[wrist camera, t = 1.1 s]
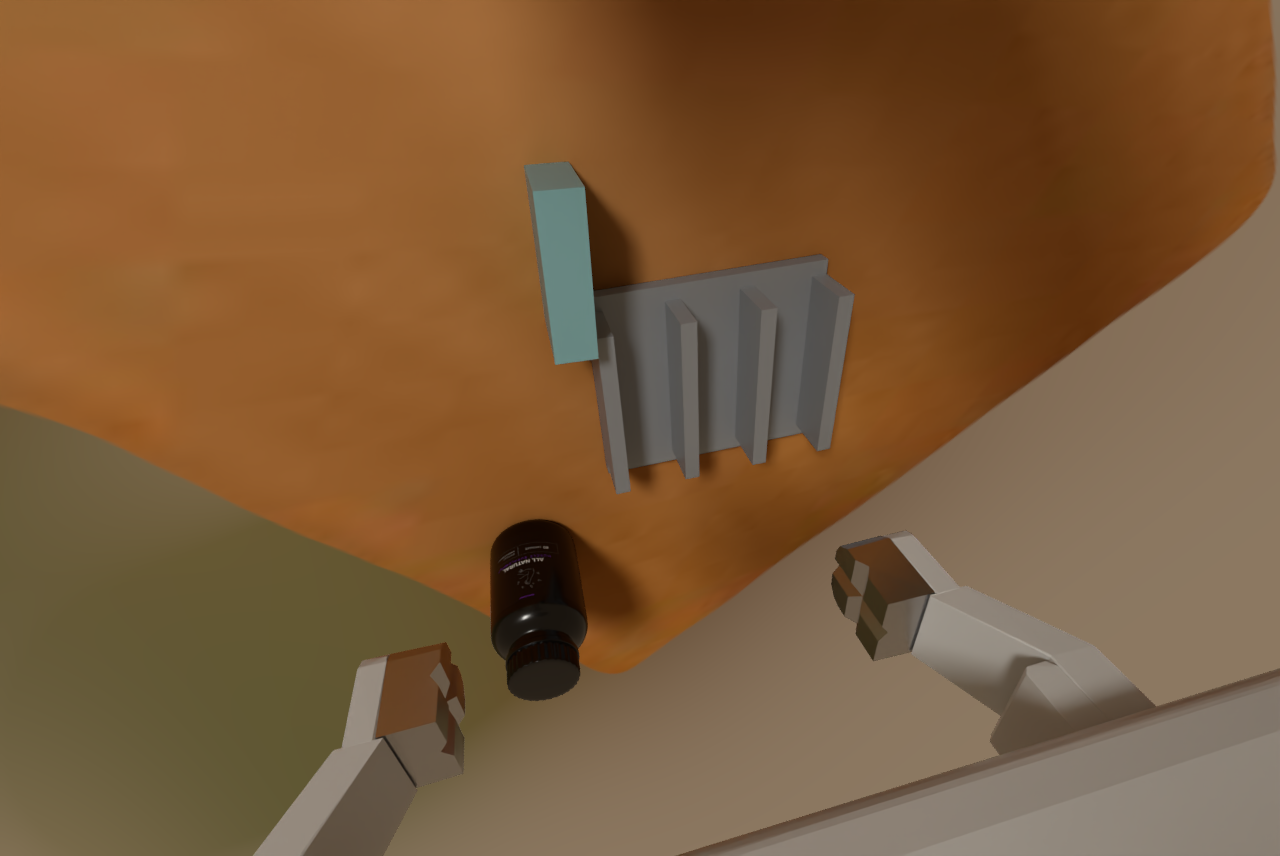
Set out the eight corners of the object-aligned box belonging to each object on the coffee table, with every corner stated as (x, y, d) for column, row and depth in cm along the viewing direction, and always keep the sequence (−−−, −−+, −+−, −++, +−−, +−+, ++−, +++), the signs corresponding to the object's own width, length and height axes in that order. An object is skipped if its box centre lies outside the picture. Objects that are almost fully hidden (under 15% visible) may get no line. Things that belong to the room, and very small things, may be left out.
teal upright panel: (523, 164, 31) (532, 191, 26) (568, 161, 31) (584, 187, 26) (544, 318, 36) (555, 364, 31) (582, 314, 36) (598, 358, 32)
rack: (582, 292, 35) (594, 323, 32) (821, 254, 38) (857, 278, 34) (606, 465, 44) (617, 504, 40) (800, 424, 46) (828, 458, 42)
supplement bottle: (523, 503, 44) (536, 637, 35) (590, 535, 48) (618, 663, 38) (471, 558, 46) (470, 698, 37) (539, 585, 50) (555, 718, 40)
